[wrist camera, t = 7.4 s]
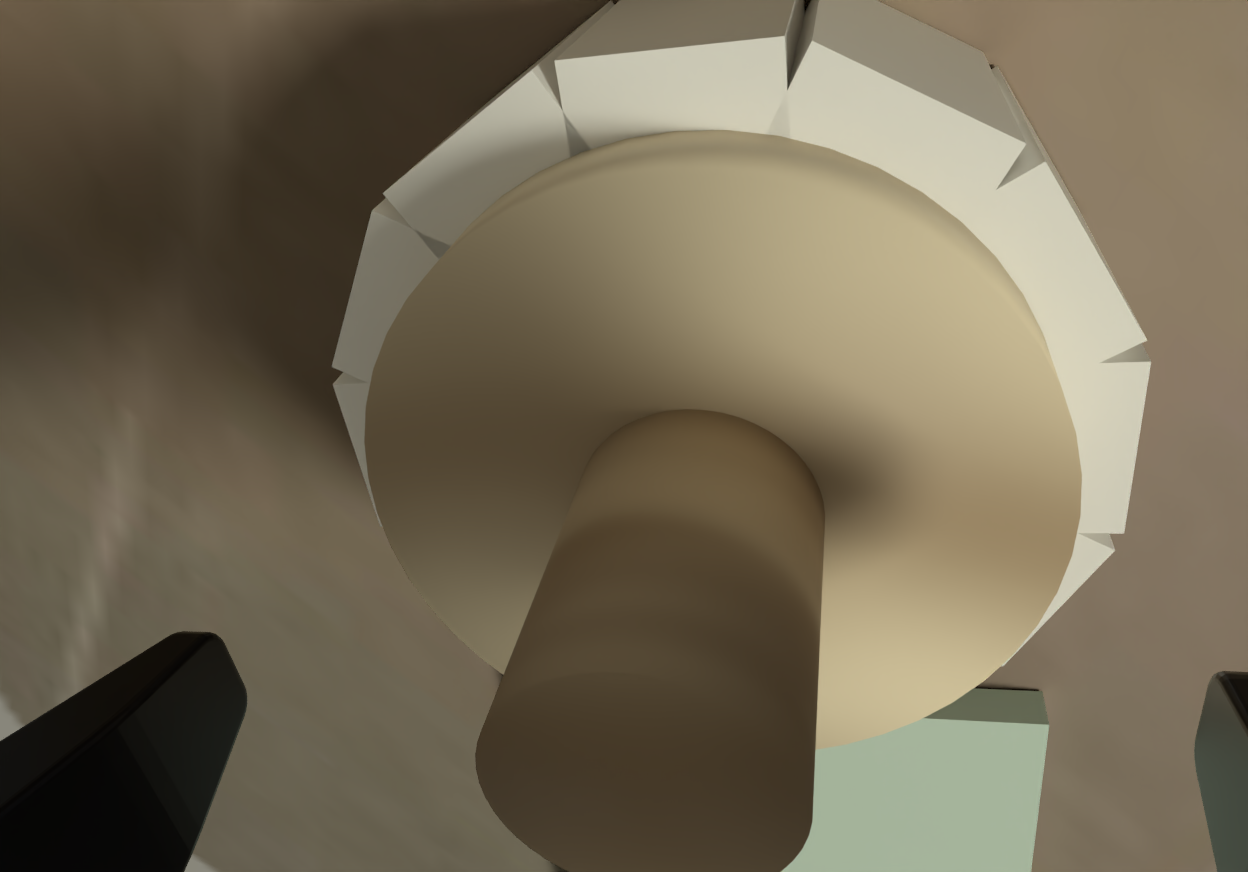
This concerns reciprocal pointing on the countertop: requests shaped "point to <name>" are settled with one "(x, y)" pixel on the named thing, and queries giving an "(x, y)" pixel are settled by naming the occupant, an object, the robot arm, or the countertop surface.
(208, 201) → the countertop surface
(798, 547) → the lid
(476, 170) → the white faceted ring
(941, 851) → the mat
